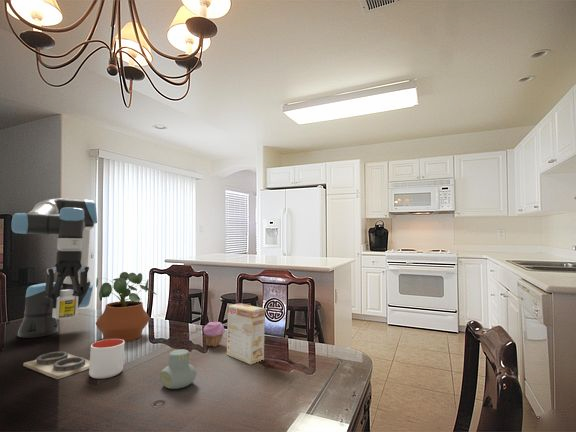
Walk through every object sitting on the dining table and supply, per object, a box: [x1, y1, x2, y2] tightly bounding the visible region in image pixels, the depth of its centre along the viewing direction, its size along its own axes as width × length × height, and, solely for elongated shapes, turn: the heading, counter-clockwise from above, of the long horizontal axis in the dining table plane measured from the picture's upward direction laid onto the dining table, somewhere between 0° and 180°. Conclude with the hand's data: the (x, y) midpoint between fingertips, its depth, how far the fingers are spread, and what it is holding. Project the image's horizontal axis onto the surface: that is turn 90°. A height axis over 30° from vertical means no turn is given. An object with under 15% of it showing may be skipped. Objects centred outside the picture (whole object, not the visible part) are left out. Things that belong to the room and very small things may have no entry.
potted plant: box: [95, 271, 157, 343], centre depth 151 cm, size 23×28×30 cm
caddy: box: [22, 351, 90, 380], centre depth 113 cm, size 13×22×2 cm, turn 62°
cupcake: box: [202, 321, 225, 348], centre depth 139 cm, size 9×9×10 cm
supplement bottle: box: [56, 289, 75, 320], centre depth 114 cm, size 5×5×10 cm
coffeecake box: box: [226, 302, 266, 365], centre depth 125 cm, size 15×7×20 cm, turn 47°
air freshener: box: [159, 348, 197, 390], centre depth 100 cm, size 11×8×10 cm
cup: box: [88, 339, 126, 380], centre depth 108 cm, size 10×10×10 cm
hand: (64, 315), depth 114 cm, fingers closed on supplement bottle, 5 cm apart
